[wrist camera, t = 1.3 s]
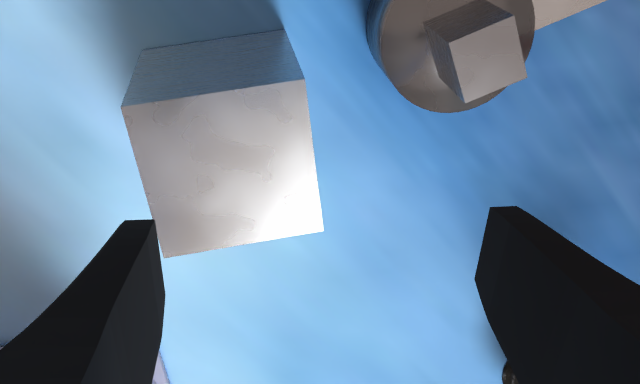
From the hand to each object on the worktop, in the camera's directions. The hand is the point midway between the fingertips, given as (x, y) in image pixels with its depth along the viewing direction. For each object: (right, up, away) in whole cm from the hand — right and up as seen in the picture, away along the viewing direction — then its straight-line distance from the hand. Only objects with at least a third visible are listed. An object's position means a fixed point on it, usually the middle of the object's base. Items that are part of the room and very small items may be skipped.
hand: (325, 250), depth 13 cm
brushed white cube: (-4, +4, +9) cm, 11 cm away
